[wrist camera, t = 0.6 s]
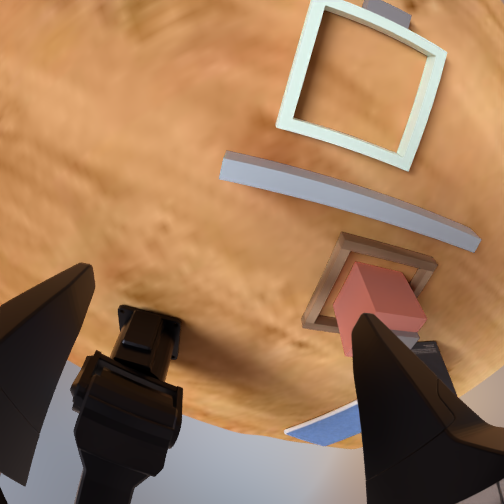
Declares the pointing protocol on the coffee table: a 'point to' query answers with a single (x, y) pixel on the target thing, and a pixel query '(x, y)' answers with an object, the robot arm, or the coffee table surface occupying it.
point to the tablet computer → (329, 426)
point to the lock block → (378, 303)
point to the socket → (390, 24)
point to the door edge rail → (344, 197)
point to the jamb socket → (337, 261)
